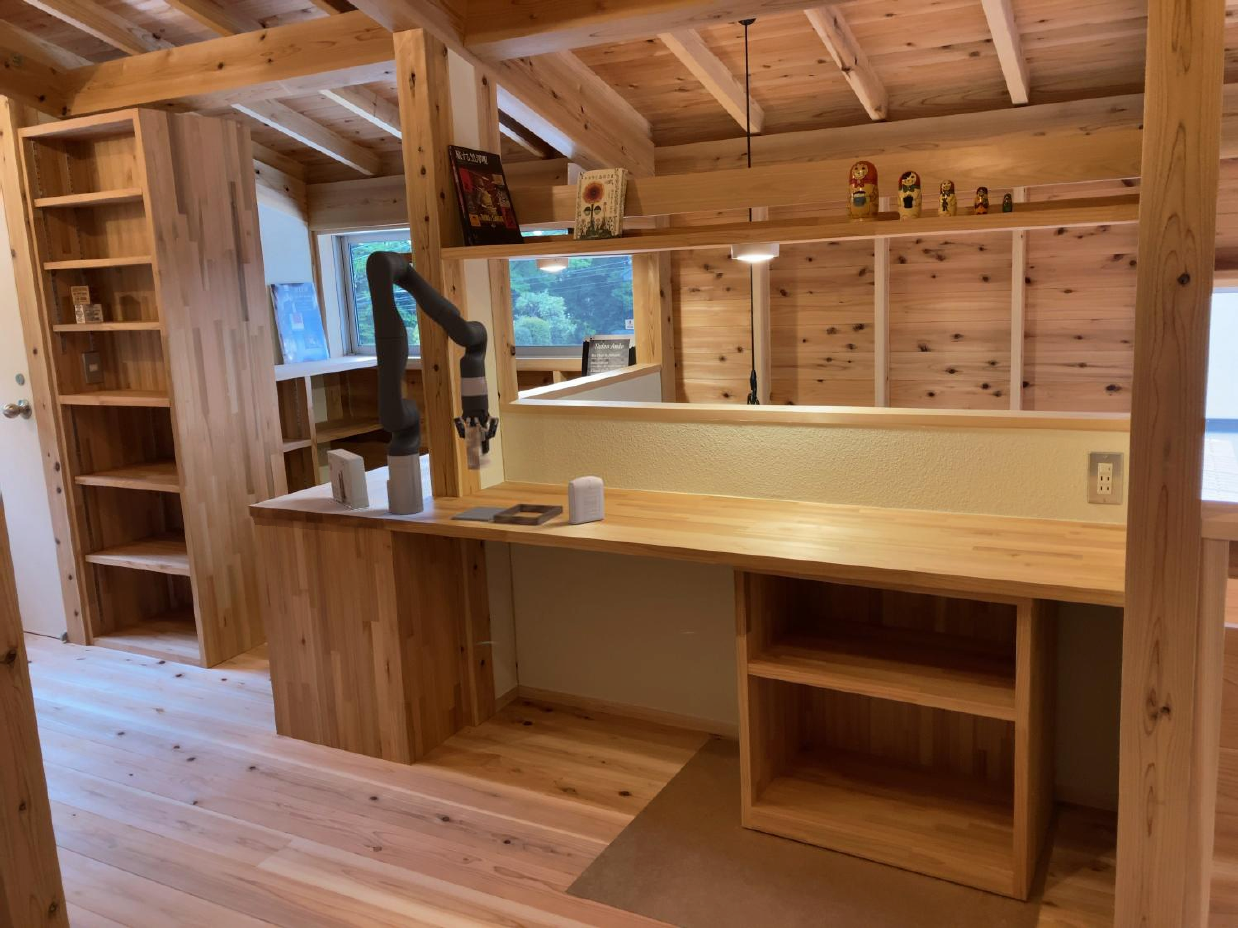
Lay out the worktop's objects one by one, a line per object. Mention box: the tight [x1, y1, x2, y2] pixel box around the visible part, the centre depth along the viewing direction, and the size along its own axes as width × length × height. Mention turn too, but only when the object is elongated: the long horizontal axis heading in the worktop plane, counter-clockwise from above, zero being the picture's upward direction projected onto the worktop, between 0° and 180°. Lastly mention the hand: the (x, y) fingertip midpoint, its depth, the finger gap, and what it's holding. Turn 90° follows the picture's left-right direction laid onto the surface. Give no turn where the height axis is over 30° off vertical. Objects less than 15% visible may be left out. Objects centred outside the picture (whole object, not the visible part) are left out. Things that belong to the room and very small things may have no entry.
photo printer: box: [567, 475, 605, 525], centre depth 262 cm, size 10×4×12 cm, turn 123°
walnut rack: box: [493, 503, 564, 526], centre depth 270 cm, size 14×15×2 cm
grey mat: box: [451, 505, 510, 522], centre depth 276 cm, size 12×14×1 cm
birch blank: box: [465, 424, 492, 471], centre depth 272 cm, size 4×6×12 cm, turn 157°
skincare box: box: [326, 448, 370, 510], centre depth 297 cm, size 21×5×16 cm, turn 33°
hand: (478, 452), depth 273 cm, fingers closed on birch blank, 4 cm apart
